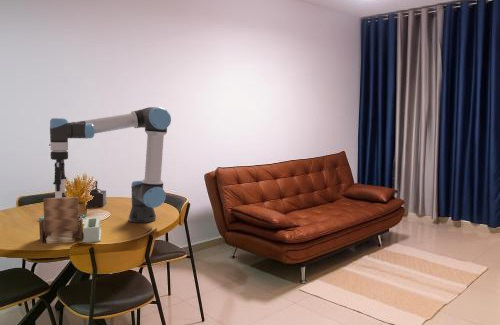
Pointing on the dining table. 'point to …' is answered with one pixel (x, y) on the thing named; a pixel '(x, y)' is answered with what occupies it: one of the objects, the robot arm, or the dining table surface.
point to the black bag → (97, 197)
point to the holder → (92, 230)
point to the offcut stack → (61, 237)
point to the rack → (42, 230)
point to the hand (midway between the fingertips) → (60, 195)
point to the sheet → (61, 215)
